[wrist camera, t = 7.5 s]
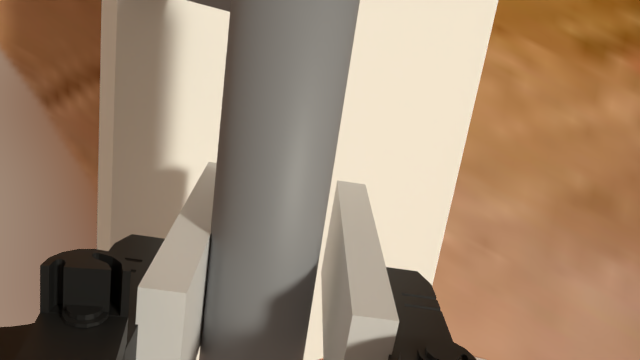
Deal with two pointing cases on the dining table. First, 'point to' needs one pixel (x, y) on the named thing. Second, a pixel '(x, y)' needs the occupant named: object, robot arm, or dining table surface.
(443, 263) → the dining table surface
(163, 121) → the lid flap
